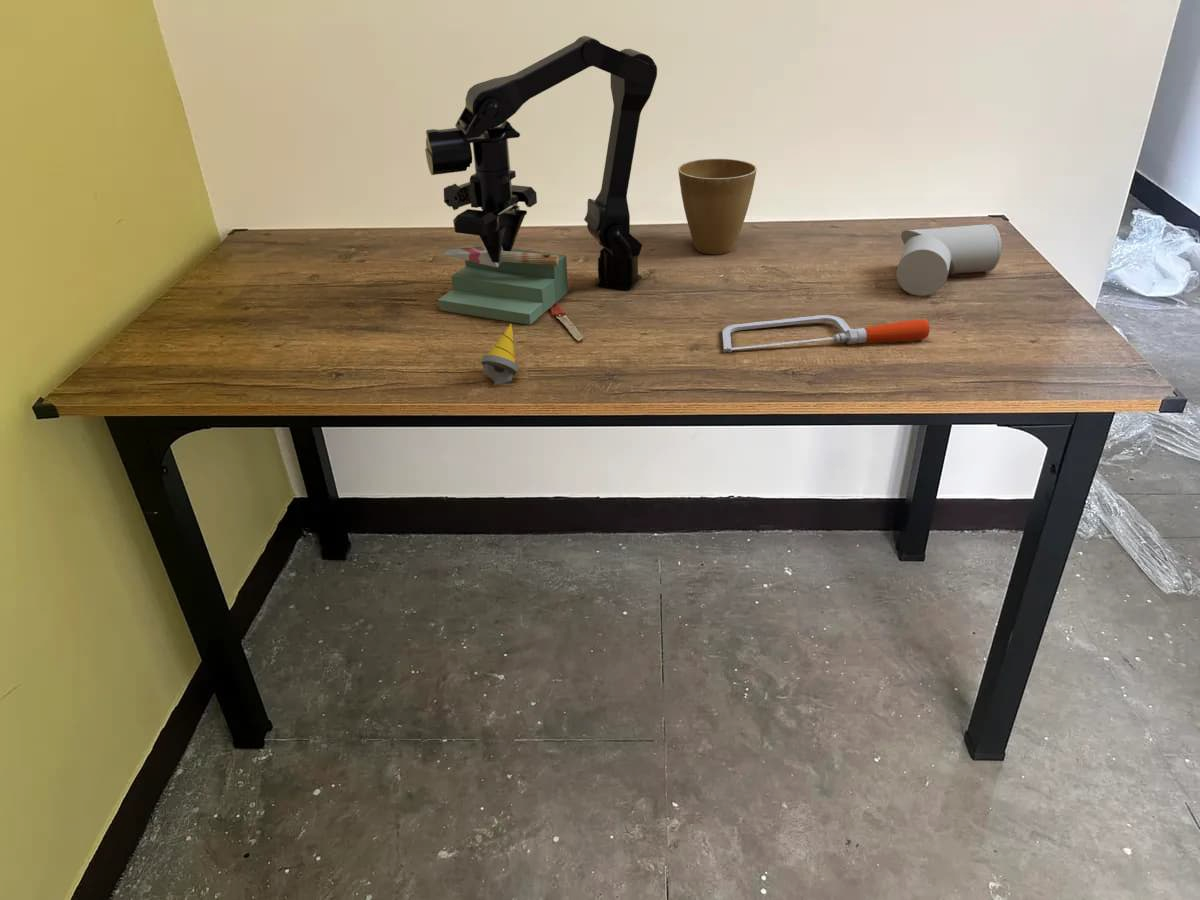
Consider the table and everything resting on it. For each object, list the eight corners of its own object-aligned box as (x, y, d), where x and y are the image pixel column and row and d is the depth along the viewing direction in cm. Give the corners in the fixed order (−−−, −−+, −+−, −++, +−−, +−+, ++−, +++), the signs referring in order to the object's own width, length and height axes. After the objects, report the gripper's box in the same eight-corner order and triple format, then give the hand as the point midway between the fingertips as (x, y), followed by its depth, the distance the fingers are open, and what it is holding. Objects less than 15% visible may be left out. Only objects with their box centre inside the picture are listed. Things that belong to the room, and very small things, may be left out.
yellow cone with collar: (473, 383, 134) (490, 322, 136) (506, 394, 135) (523, 333, 137) (480, 376, 129) (498, 313, 131) (514, 387, 130) (532, 324, 132)
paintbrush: (448, 240, 156) (559, 249, 154) (449, 255, 158) (559, 264, 155) (441, 247, 153) (554, 256, 150) (442, 263, 155) (555, 272, 152)
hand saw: (725, 345, 137) (712, 319, 145) (725, 363, 138) (712, 336, 147) (932, 323, 138) (907, 299, 147) (929, 341, 140) (905, 316, 148)
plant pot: (765, 245, 179) (771, 164, 170) (723, 267, 169) (728, 183, 161) (704, 230, 187) (707, 153, 178) (661, 250, 178) (662, 170, 169)
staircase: (568, 292, 161) (566, 255, 157) (530, 325, 150) (527, 286, 146) (481, 279, 167) (478, 243, 164) (439, 310, 156) (434, 272, 152)
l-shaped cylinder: (895, 246, 172) (881, 284, 157) (916, 194, 166) (904, 228, 151) (986, 276, 169) (981, 317, 153) (1011, 224, 162) (1009, 262, 147)
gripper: (478, 149, 156) (487, 235, 164) (419, 178, 141) (432, 271, 150) (535, 154, 152) (541, 242, 160) (480, 184, 138) (490, 279, 146)
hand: (501, 258), depth 154 cm, fingers closed on paintbrush, 4 cm apart
